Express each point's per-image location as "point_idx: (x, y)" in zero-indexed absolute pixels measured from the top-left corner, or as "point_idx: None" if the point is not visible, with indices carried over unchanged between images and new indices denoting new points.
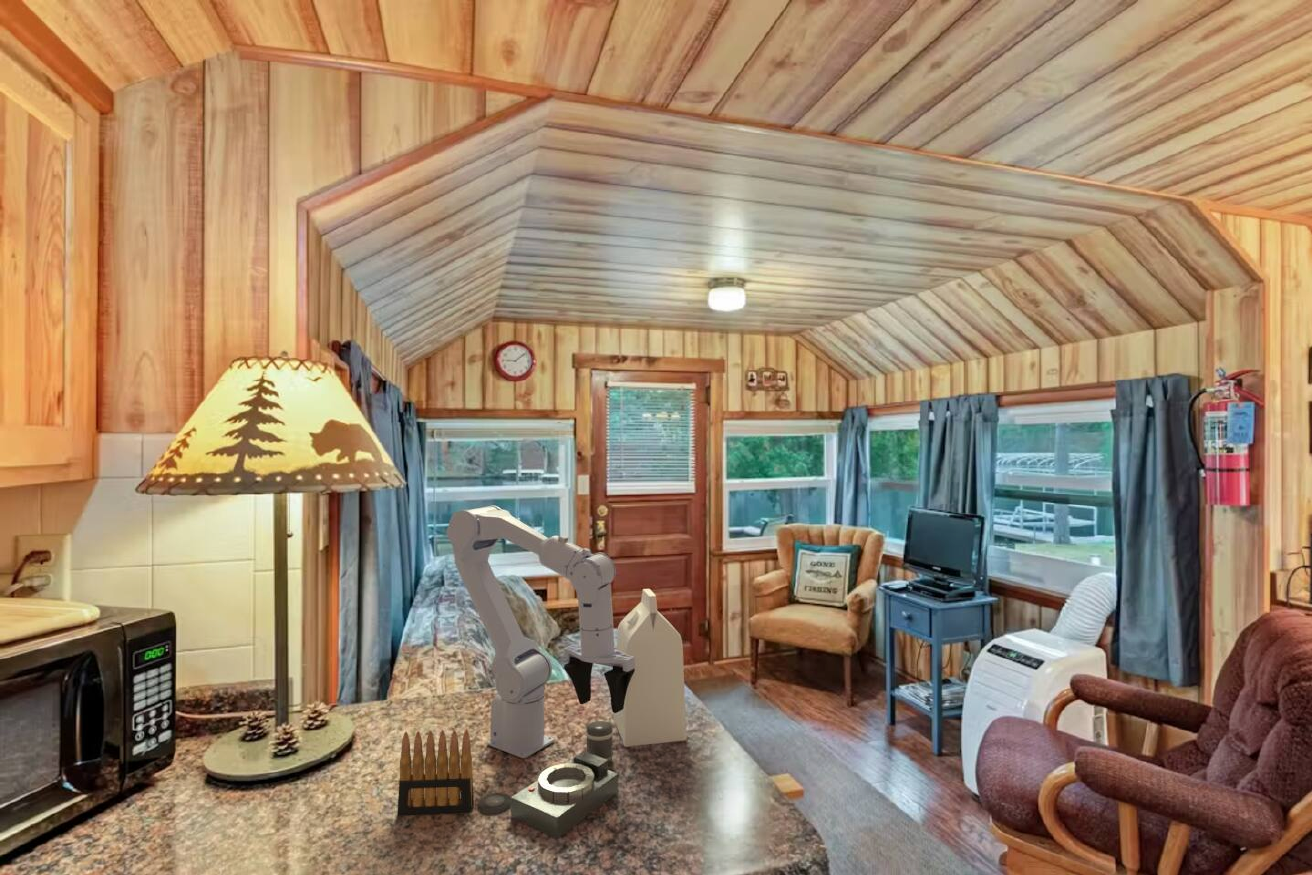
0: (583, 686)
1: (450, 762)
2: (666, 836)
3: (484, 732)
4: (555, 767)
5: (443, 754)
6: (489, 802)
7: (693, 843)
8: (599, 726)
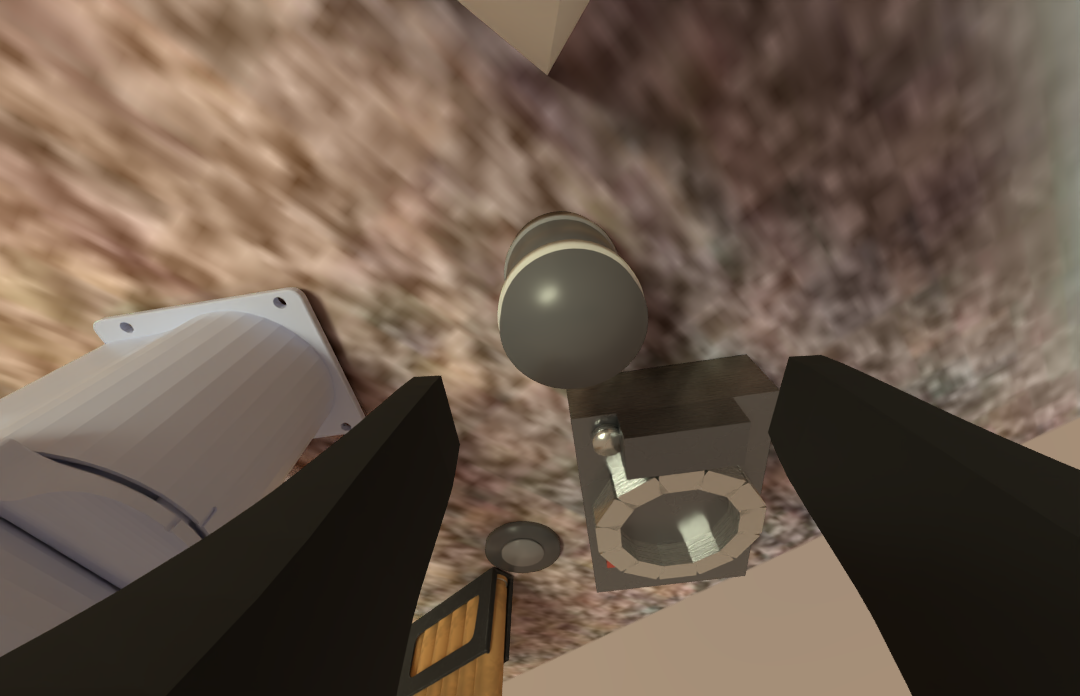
0: (406, 539)
1: None
2: (966, 398)
3: None
4: (611, 523)
5: None
6: (520, 561)
7: (1049, 376)
8: (570, 326)
